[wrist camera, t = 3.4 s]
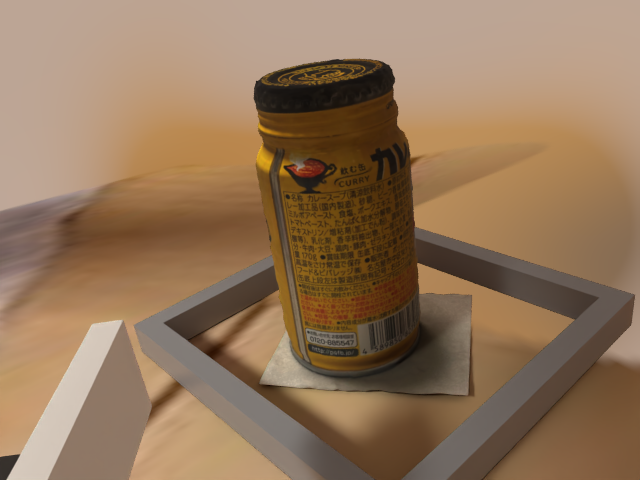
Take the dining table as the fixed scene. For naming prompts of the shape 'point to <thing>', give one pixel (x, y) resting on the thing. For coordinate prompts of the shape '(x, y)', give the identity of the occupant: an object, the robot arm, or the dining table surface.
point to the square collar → (462, 444)
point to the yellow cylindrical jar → (350, 238)
